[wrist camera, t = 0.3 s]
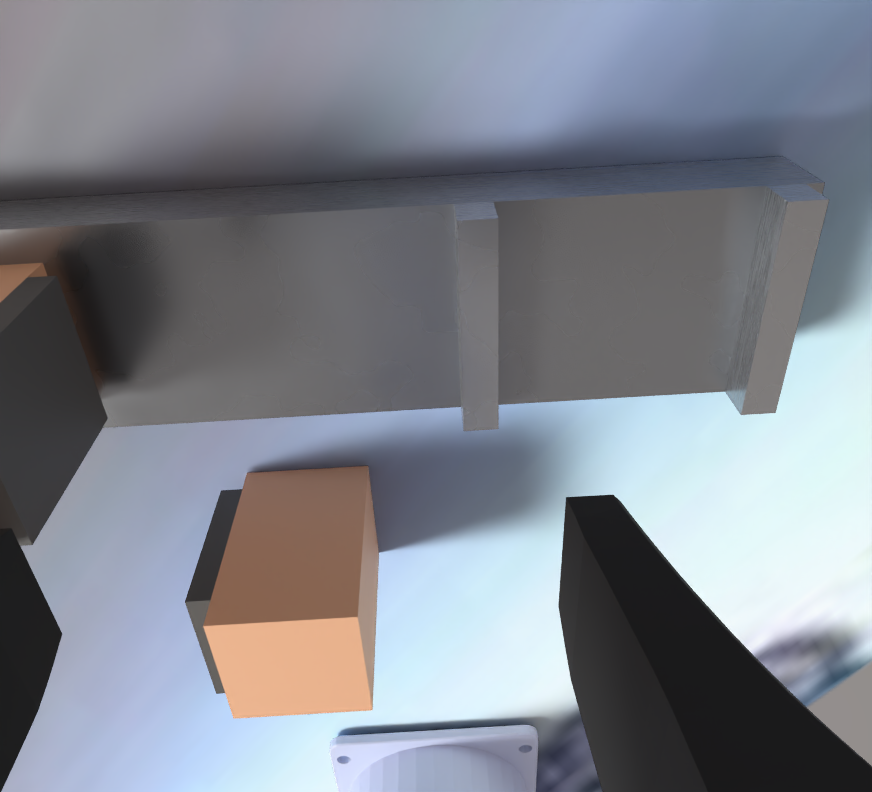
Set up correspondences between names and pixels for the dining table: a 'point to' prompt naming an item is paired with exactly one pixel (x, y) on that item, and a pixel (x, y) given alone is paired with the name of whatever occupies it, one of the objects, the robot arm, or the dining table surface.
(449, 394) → the rail
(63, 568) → the dining table surface
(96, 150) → the dining table surface
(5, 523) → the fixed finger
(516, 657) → the dining table surface
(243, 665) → the tan block with backing
